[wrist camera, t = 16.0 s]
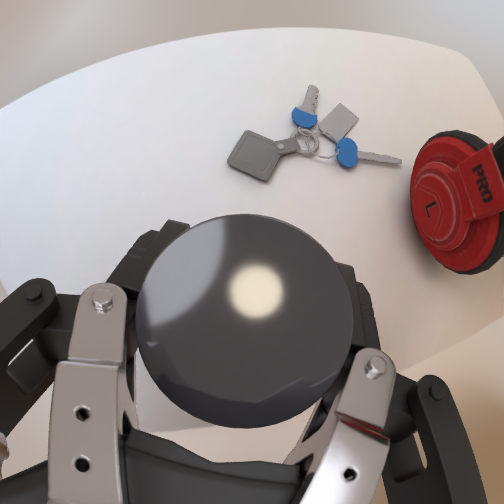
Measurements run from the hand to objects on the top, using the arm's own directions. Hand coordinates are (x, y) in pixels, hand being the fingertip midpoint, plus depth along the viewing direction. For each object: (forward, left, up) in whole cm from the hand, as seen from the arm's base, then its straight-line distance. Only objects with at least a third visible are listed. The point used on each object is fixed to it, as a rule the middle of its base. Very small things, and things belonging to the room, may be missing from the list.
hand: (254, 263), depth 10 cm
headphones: (+21, 0, -10) cm, 23 cm away
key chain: (+8, +10, -10) cm, 16 cm away
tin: (-1, -2, -4) cm, 5 cm away
